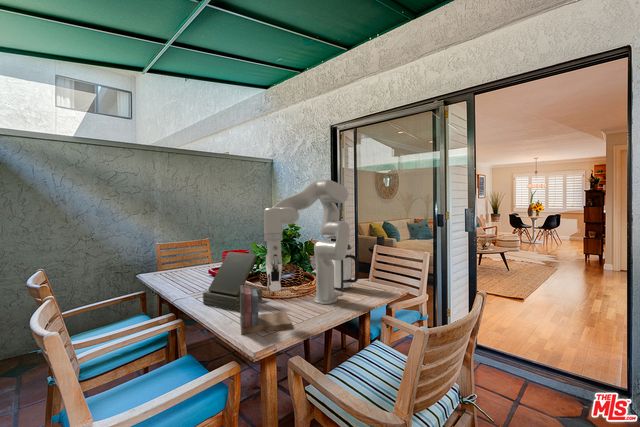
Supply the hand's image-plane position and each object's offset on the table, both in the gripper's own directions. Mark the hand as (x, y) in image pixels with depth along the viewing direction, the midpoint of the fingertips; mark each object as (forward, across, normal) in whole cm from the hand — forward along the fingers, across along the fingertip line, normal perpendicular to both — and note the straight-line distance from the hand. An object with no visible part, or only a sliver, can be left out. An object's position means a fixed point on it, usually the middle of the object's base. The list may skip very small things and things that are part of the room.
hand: (273, 278), depth 126 cm
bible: (+20, +36, +16) cm, 44 cm away
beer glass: (+5, 0, 0) cm, 5 cm away
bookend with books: (+19, 0, +4) cm, 20 cm away
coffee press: (+19, +40, -47) cm, 65 cm away
